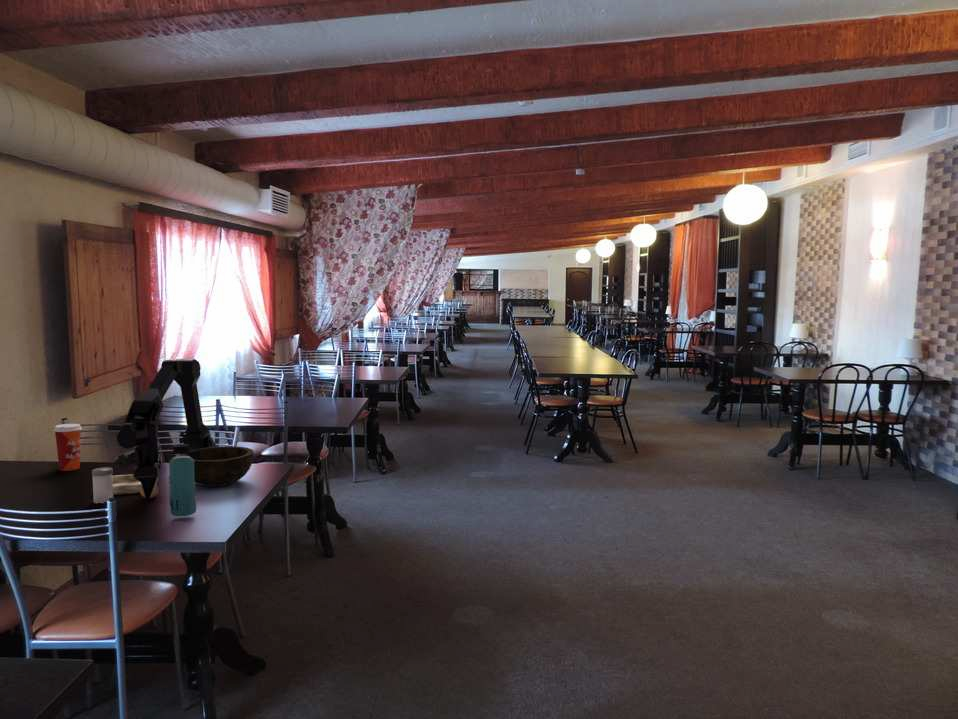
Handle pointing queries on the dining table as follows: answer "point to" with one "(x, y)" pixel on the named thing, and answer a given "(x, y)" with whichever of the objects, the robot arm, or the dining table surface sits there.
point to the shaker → (102, 484)
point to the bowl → (220, 464)
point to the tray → (126, 484)
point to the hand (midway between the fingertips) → (149, 493)
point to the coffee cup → (68, 446)
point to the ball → (151, 493)
